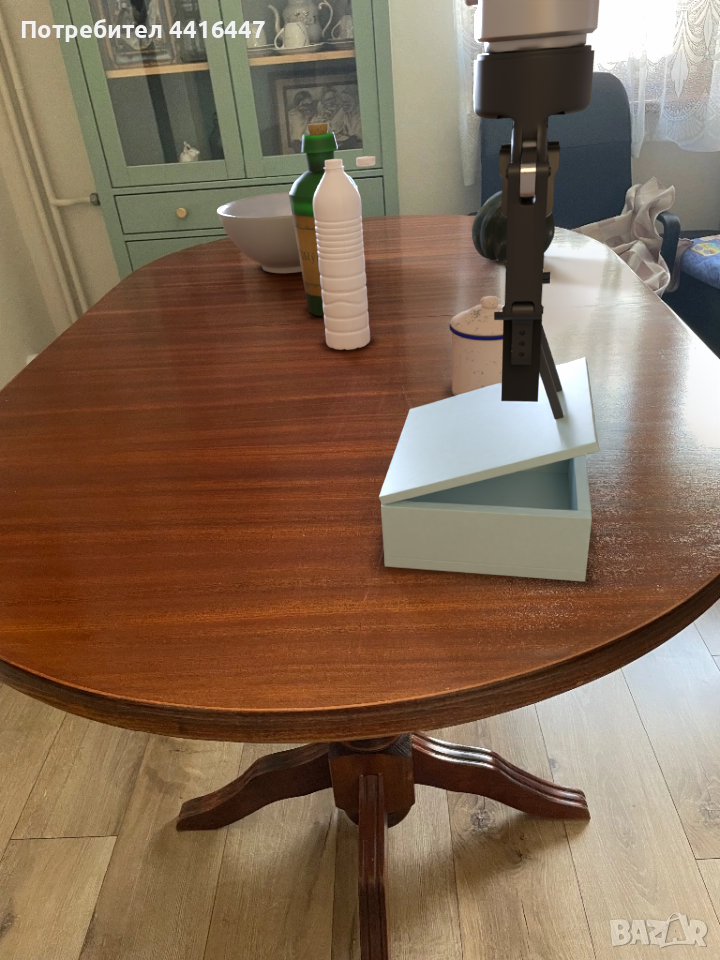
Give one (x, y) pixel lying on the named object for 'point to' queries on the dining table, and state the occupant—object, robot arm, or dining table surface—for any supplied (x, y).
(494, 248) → the squash
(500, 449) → the lid
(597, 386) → the dining table surface
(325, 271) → the water bottle
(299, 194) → the bottle
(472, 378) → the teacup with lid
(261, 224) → the decorative bowl
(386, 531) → the pale green box base
